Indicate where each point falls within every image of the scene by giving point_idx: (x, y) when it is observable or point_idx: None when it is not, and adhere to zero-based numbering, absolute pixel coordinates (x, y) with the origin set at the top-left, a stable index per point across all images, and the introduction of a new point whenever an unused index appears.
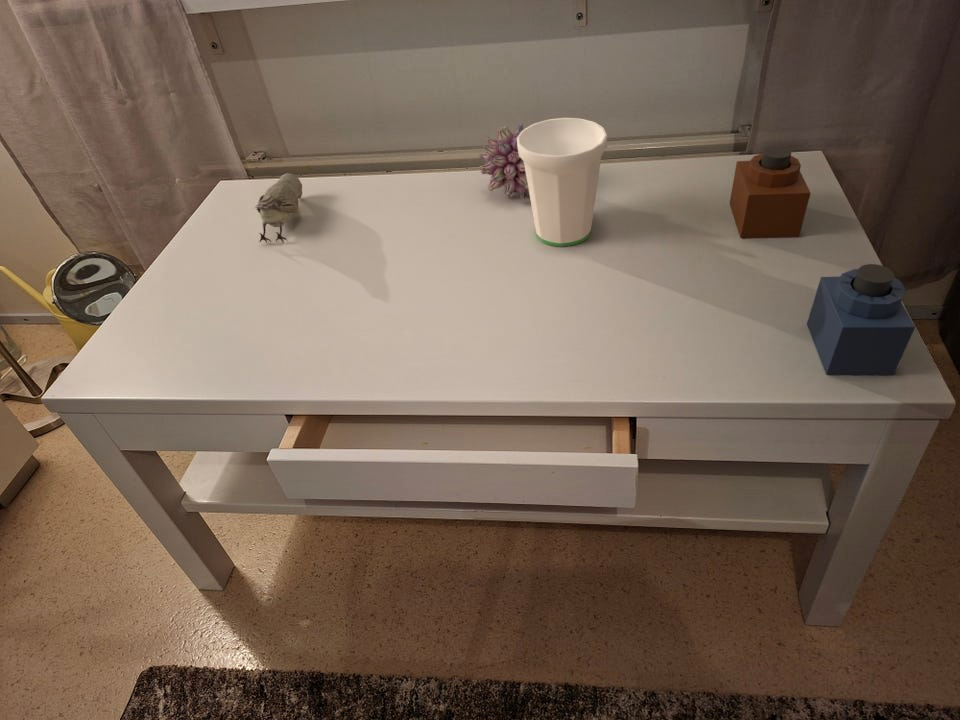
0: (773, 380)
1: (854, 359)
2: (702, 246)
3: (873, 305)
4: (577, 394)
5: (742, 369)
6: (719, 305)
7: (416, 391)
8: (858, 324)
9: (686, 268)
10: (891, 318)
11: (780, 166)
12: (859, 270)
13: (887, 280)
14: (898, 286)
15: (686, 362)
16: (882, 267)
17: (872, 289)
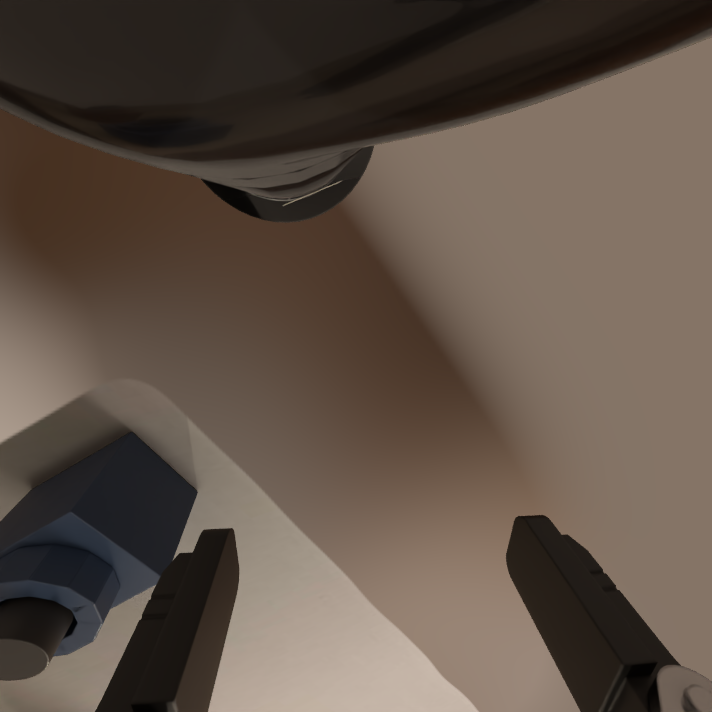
0: (252, 527)
1: (166, 497)
2: (42, 679)
3: (92, 597)
4: (390, 628)
5: (256, 555)
6: None
7: (451, 693)
8: (140, 569)
9: (109, 668)
10: (77, 543)
11: None
12: (25, 677)
13: (16, 642)
14: None
15: (284, 594)
16: None
17: (56, 628)
